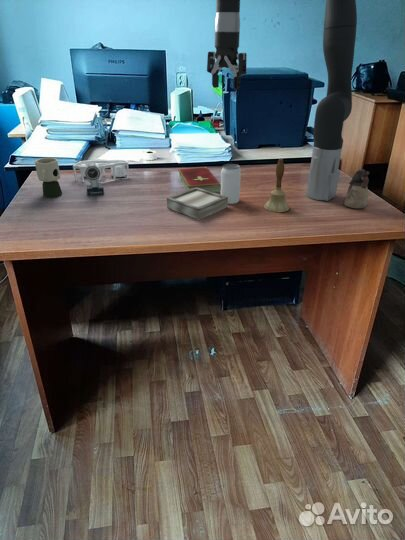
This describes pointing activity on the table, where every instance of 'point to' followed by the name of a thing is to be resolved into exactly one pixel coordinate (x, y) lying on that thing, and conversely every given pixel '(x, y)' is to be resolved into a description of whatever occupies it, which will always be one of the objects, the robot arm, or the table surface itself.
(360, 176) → the figurine
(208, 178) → the hardcover book
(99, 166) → the skeletal toy car
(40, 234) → the table surface
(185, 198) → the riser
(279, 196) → the hand bell
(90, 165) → the watch
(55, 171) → the character mug
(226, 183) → the can
